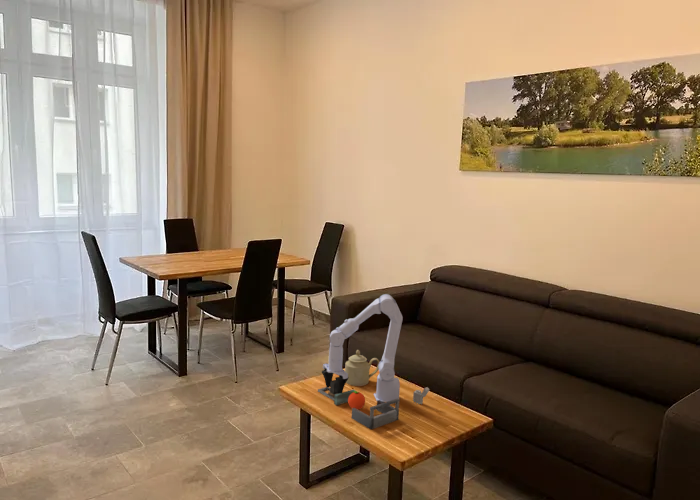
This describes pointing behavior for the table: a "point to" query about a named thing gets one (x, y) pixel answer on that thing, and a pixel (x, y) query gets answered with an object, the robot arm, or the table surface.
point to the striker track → (325, 392)
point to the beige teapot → (359, 370)
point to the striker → (339, 397)
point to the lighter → (420, 395)
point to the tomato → (356, 400)
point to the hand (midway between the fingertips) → (334, 389)
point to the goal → (379, 420)
